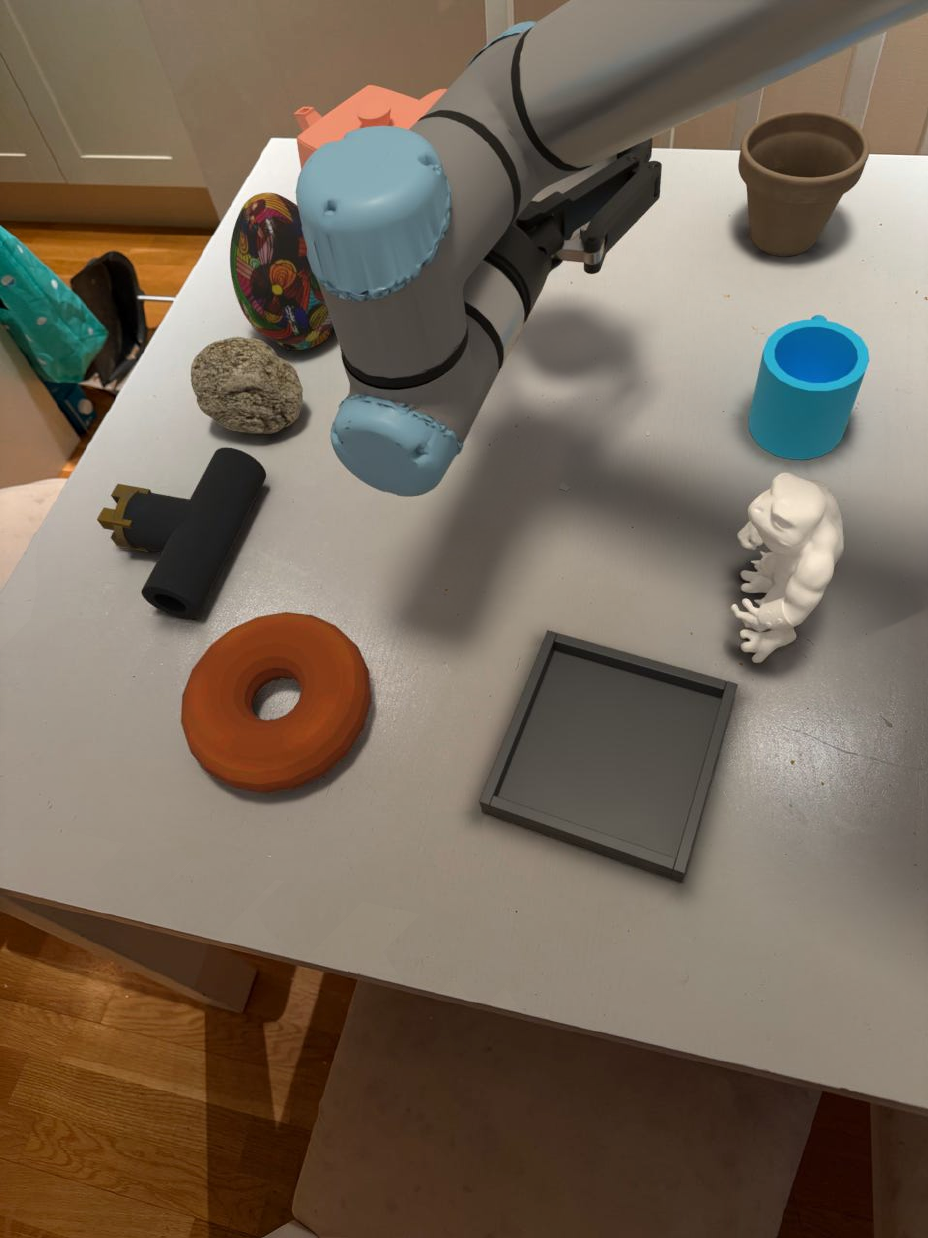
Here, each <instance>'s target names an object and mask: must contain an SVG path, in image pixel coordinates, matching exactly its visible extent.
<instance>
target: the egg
mask: <svg viewBox="0 0 928 1238" xmlns="http://www.w3.org/2000/svg"><path fill="white" fill-rule="evenodd" d="M242 205H243V206H242V207H241V209H240V211H239V212H238V216H237V218H236V220H235V223H234V226H233V230H232V235H231V240H230V248H229V267H230V276H231V282H232V286H233V290H234V294H235V298H236V300H237V302H238V305H239V307H240V309H241V311H242V313H243V315H244V316H245V318H246V320H247V321H248V322H249V323H250V325H251V326H252V327H253V328H254V329H255V330H256V331H258V333H260V334H261V335H262V336H264V337H266V338H268V339H270V340H271V341H274V342H276V343H277V344H278V346H281V347H283V348H284V349H287V350H289V351H291V350H293V351H302V350H308V349H310V348H313V347H315V346H318V345H321V344H322V343H323V342H324V341H326V340H328V338H329V336H330V335H331V332H333V329H334V327H333V324H332V321H331V318H330V315H329V312H328V309H327V306H326V303H325V300H324V297H323V295H322V292H321V289H320V286H319V283H318V281H317V278H316V276H315V275H314V273H313V272H312V269H311V266H310V263H309V260H308V257H307V246H306V242H305V239H304V235H303V231H302V223H301V219H300V214H299V210H298V205H297V203H294V202H293V201H291V200H290V199H289V198H287V197H284V196H283V195H280V194H278V193H275V192H261V193H258V194H254V195H253V196H251V197H250V198H248V199H247V201H245V203H244V204H242Z"/></svg>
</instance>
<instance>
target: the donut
mask: <svg viewBox="0 0 928 1238" xmlns="http://www.w3.org/2000/svg"><path fill="white" fill-rule="evenodd" d="M370 678H371V677H370V669H369V666H368V665H367V663H366V661H365V658H364V656H363V654H362V652H361V649H360V648H359V646H358V645H357V644H356V643H355V642H353V640H352V639H350V637H349V636H348V635H346V633H344V632H343V631H342V630H341V629H340V628H339V626H337V625H335V624H333V623H331V622H329V621H327V620H324V619H322V618H320V617H318V616H316V615H313V614H306V613H297V612H289V611H285V612H279V613H271V614H267V615H260V616H256V617H254V618H252V619H250V620H247V621H245V622H243V623H241V624H239V625H236V626H233V627H232V628H231V629H229V630H228V631H227V632H225V633H224V634H223V635H221V637H219V638H218V639H217V640H215V641H214V642H213V643H211V644H210V645H209V646H208V647H207V649H205V652H204V653H203V654H202V656H200V659H198V661H197V662H196V664H195V665H194V667H192V669H191V671H190V674H189V677H188V679H187V682H186V684H185V687H184V689H183V692H182V695H181V709H180V710H181V713H180V723H181V726H182V731H183V733H184V736H185V739H186V743H187V746H188V749H189V751H190V753H191V755H192V756H193V757H194V758H195V760H196V761H197V762H198V763H199V765H200V766H201V767H202V768H203V770H204V771H205V772H206V773H207V774H208V775H209V776H210V777H214V778H215V779H217V780H219V781H220V782H222V783H224V784H226V785H228V786H229V787H232V788H235V789H237V790H243V791H249V792H255V793H261V794H270V793H277V792H282V791H289V790H295V789H298V788H300V787H302V786H304V785H307V784H309V783H310V782H313V781H316V780H317V779H319V778H321V777H323V776H325V775H327V774H328V772H330V771H331V770H332V769H333V768H334V767H335V766H337V765H338V764H339V763H340V762H341V761H342V760H344V758H345V757H347V756H348V755H349V753H350V752H351V750H352V749H353V747H354V745H356V742H357V741H358V739H359V738H360V736H361V734H362V733H363V731H364V729H365V725H366V721H367V718H368V715H369V711H370V707H371V703H372V694H371V693H372V692H371V680H370ZM280 680H290V681H291V680H292V681H294V682H296V683H297V685H298V687H299V689H300V694H299V697H298V700H297V702H296V703H295V705H294V707H292V709H291V710H289V711H288V713H287V712H286V714H285V715H282V716H280V717H278V718H273V719H262V718H259V717H258V716H257V715H256V714H255V713H254V703H255V700H256V697H257V695H258V694H259V693H260V692H261V690H263V688H265V687H266V686H267V685H269V684H270V683H273V682H275V681H280Z"/></svg>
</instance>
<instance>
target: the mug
mask: <svg viewBox="0 0 928 1238" xmlns="http://www.w3.org/2000/svg"><path fill="white" fill-rule="evenodd" d="M759 363H760V364H759V368H758V372H757V378H756V382H755V386H754V391H753V396H752V401H751V405H750V409H749V415H748V430H749V432H750V434H751V437H752V439H753V440H754V441H755V442H756V443H757V444H758V446H760V448H762V449H763V450H765V451H766V452H768V453H770V454H772V455H774V456H777V457H780V458H784V459H788V460H801V461H802V460H803V461H804V460H805V461H806V460H811V459H815V458H819V457H822V456H825V455H826V454H828V453H830V452H832V451H833V450H834V449H835V448H836V447H838V445H839V444H840V443H841V442H842V439H843V436H844V433H845V431H846V428H847V426H848V422H849V420H850V417H851V415H852V411H853V408H854V405H855V403H856V399H857V397H858V394H859V391H860V388H861V386H862V382H863V380H864V377H865V374H866V372H867V369H868V365H869V363H870V353H869V348H868V346H867V345H866V343H865V341H864V340H863V338H862V337H861V336H860V335H859V334H857V333H856V332H855V331H854V330H852V329H851V328H849V327H847V326H845V325H843V324H840V323H838V322H834V321H829V320H828V319H827V318H826V317H825V316H824V315H821V314H815V315H813V316H812V317H811V319H802V320H797V321H793V322H789V323H787V324H785V325H783V326H781V327H779V328H777V329H776V330H775V331H774V332H772V333H771V335H769V336H768V338H767V340H766V342H765V344H764V346H763V350H762V353H761V359H760V362H759Z"/></svg>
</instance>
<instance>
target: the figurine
mask: <svg viewBox="0 0 928 1238" xmlns="http://www.w3.org/2000/svg"><path fill="white" fill-rule="evenodd" d="M747 512H748V514H747V515H748V519H749V521H748V522H747V523H745V525H744V526H743V528H742V529H740V530H739V532H738V533H737V538H738V540H739V544H740V545H741V546H742V547H743V548H744V549H748V550H751V551H755V550H756V549H757V546H761V545H763V544H764V545H765V547H767V549H768V550H770V551H769V552H764V551H762V550H760V551H759V552H760V555H761V556H762V557H761V558H760V559H756V560H751V561H750V562H751V563H752V564H753V566H754V569H755V570H756V571H750V570H747V569H746V570H745V569H744V570H742V571H741V572H740V577H741V578H742V580H744V581H745V583H743V584H741V587H740V590H741V591H742V592H743V593H747V594H757V593H758V594H759V593H763V594H765V595H764V597H762V598H761V599H754V602H755V603H756V604H757V605H759V607H755V606H754V605H753V603H752V602H751V600H750V599H748V598H747V597H746V598H742V601H741V603H742V605H743V607H744V608H745V609H746V610H747V611H743V610H740V609H739V606H738V605H737V604H736V603H733V604H732V605H731V606H730V611H731V612H732V613H733V614H734V616H735V618H736V619H738V620H739V619H740V620H741V621H742V623H744V626H745V627H746V628H751V629H753V630H754V631H753V630H750V629H741V630H740V632H739V636H740V638H741V639H742V640H746V639H748V640H749V641H743V642H742V643H741V644H740V649H741V651H742V652H744V653H753V654H754V655H753V656H752V657H751V661H752V662H753V663H754V664H760V663H762V662H764V660H766V659H767V658H768V656H769V655H770V654H771V653H773V652H774V651H775V650H776V649H779V648H780V647H785V646H787V645H788V644H791V643H793V642H794V641H795V640H796V639H797V634H796V631H795V629H794V628H795V627H796V626H798V625H801V624H803V623H804V621H805V620H806V619H807V618H808V616H809V615H810V614H811V613H812V612H813V611H814V610H815V608H816V607H817V606H818V604H819V603H820V601H821V599H822V598H823V596H824V593H825V590H826V588H827V586H828V584H829V583H831V580H832V578H833V576H834V572H835V565H836V564H837V563H838V561H839V560H840V558H841V556H842V555H843V554H842V553H843V551H844V547H845V545H844V542H845V537H844V536H845V535H844V533H843V532H844V531H843V529H844V528H843V527H844V526H843V518H842V516H841V515H842V514H841V511H840V509H839V506H838V502H837V500H836V498H835V497H834V496H833V495H832V492H831V489H830V488H829V487H828V486H827V485H826V484H823V483H821V482H819V481H815V480H807V479H804V478H802V477H798V476H796V475H795V474H792V473H790V472H786V471H785V472H780V473H779V474H777V476H776V477H774V478H773V480H772V482H771V487H770V488H769V489H767V490H765V491H763V492H762V493H761V494H759V495H758V496H757V497H756V498H754V500H752V502H751V503H750V504H749V506H748V509H747ZM767 630H768V631H767Z"/></svg>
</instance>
